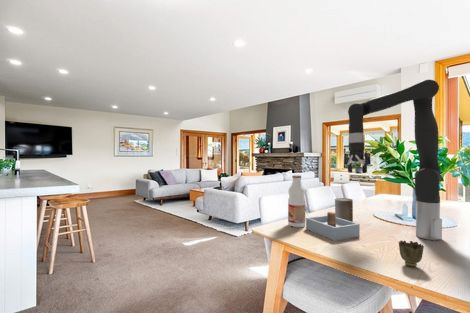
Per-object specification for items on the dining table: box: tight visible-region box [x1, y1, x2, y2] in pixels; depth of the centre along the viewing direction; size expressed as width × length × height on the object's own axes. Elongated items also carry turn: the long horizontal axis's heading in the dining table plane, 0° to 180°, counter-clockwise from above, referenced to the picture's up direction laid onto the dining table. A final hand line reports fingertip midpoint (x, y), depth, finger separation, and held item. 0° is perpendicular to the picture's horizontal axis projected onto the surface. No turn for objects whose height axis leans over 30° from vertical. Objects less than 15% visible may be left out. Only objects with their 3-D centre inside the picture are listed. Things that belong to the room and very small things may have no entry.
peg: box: [327, 211, 336, 227], centre depth 131 cm, size 4×4×10 cm
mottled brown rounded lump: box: [398, 239, 425, 268], centre depth 92 cm, size 8×7×8 cm
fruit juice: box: [287, 174, 306, 228], centre depth 144 cm, size 9×9×28 cm
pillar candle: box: [334, 197, 354, 222], centre depth 150 cm, size 10×10×15 cm
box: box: [305, 215, 361, 242], centre depth 131 cm, size 20×16×6 cm
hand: (357, 172), depth 135 cm, fingers open, 8 cm apart
